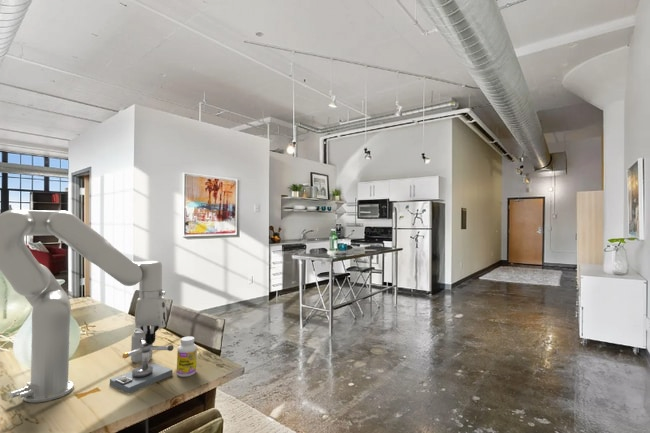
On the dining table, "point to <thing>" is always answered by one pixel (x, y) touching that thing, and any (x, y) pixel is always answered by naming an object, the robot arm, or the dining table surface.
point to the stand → (140, 379)
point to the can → (138, 345)
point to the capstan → (145, 358)
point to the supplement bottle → (186, 357)
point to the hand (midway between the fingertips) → (150, 343)
